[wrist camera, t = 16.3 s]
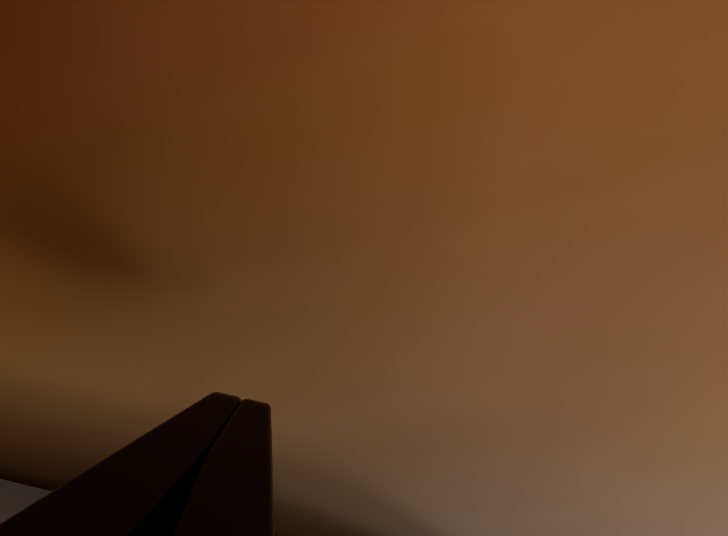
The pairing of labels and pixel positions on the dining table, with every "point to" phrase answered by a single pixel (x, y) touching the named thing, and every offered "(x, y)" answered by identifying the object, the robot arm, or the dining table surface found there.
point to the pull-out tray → (17, 497)
